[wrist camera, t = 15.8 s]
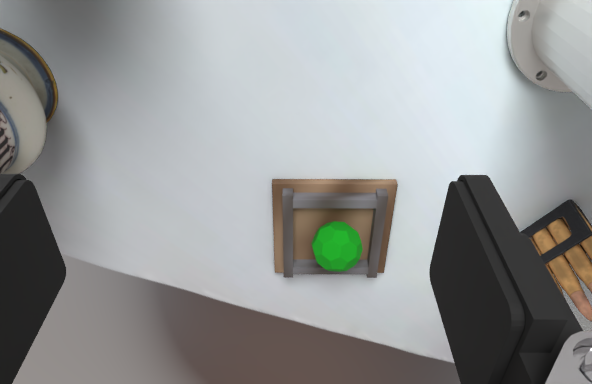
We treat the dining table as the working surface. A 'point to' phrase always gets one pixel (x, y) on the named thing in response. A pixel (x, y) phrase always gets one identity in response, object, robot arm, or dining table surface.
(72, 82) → the dining table surface
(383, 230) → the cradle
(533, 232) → the ammunition clip
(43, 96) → the apothecary jar
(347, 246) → the polyhedron
